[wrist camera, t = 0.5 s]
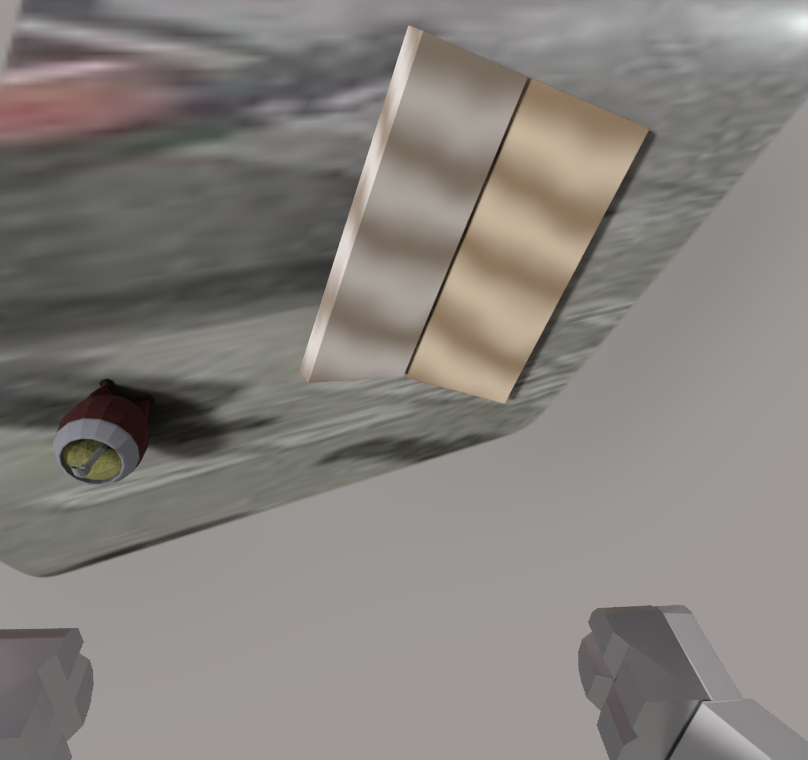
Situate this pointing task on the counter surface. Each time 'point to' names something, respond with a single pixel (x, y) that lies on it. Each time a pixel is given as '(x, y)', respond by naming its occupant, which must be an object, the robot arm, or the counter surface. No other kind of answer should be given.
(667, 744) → the robot arm
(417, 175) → the whitewashed plank
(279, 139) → the counter surface
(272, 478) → the counter surface
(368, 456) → the counter surface
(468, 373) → the laid oak row
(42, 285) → the counter surface
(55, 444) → the mate gourd
